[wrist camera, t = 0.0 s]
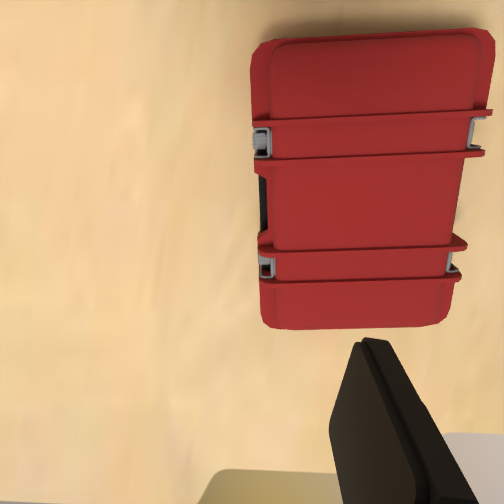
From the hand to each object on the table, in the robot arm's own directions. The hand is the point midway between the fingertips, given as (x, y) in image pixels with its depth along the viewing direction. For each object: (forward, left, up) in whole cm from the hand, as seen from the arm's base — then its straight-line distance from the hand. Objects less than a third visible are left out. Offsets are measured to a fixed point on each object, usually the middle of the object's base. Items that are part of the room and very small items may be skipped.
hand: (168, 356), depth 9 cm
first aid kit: (+9, +10, -38) cm, 40 cm away
